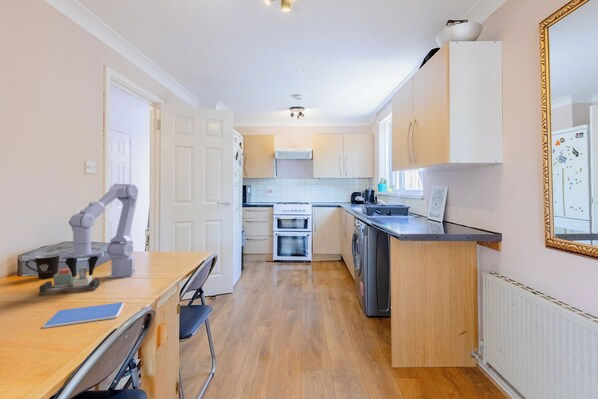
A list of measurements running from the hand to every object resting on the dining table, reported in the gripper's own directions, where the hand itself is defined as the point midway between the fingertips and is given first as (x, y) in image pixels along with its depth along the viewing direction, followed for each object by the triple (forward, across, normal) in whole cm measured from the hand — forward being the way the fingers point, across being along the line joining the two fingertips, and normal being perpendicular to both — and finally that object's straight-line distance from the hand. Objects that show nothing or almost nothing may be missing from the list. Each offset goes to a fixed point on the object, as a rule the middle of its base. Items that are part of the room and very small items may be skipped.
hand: (82, 275), depth 116 cm
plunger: (+3, -9, +9) cm, 13 cm away
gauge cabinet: (+6, -9, +9) cm, 14 cm away
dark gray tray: (+6, -4, 0) cm, 7 cm away
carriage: (+4, 0, 0) cm, 4 cm away
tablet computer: (+6, +10, -29) cm, 31 cm away
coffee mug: (+6, -22, +24) cm, 33 cm away
